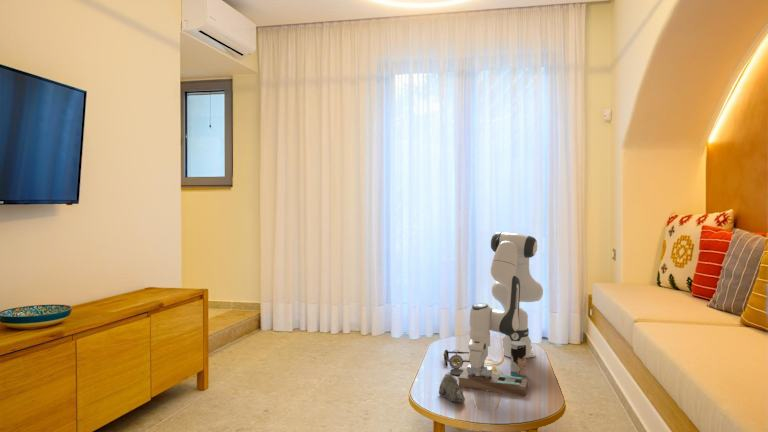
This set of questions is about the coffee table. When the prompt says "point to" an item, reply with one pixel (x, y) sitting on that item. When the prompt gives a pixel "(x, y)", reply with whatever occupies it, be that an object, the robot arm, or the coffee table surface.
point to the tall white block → (481, 371)
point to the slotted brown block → (495, 383)
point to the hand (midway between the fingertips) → (479, 372)
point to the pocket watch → (456, 367)
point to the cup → (518, 359)
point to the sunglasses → (448, 356)
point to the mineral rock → (451, 389)
